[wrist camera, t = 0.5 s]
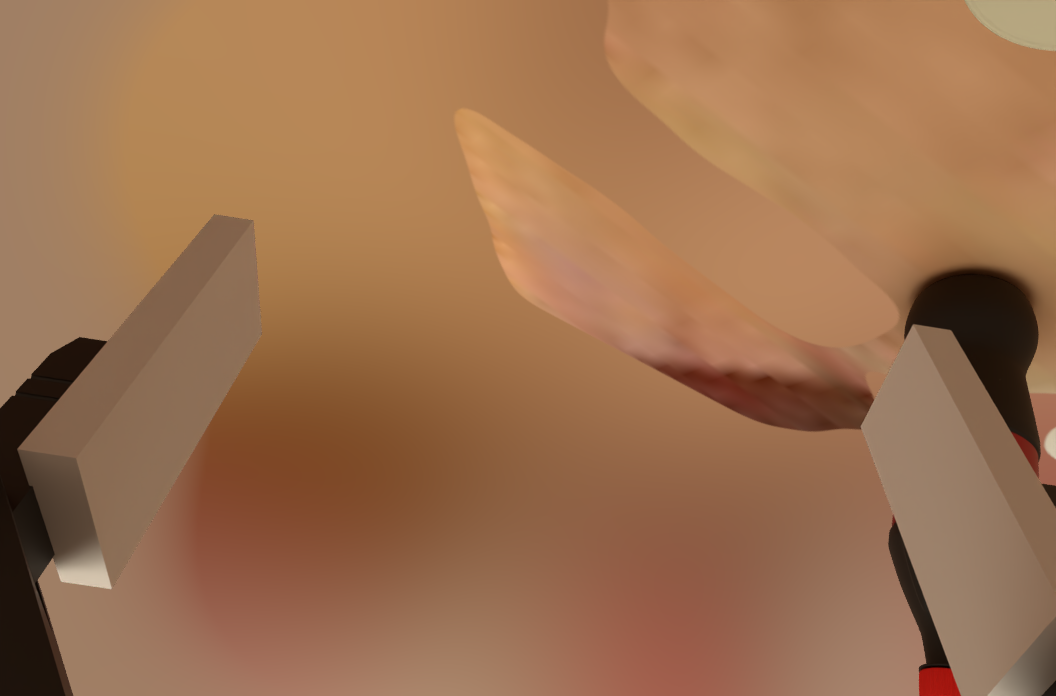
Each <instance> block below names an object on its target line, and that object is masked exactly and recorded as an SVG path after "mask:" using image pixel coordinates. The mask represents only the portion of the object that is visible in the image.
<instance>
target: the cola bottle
mask: <svg viewBox="0 0 1056 696" xmlns="http://www.w3.org/2000/svg"><path fill="white" fill-rule="evenodd" d="M913 324H915V325H921V326H928V327H934V328H940V329H947V330H951V331H952V333H953V334H954V336H955V338H956V339H957V341H958V343H959V345H960V346H961V348H962V350H963V351H964V353H965V355H966V356H967V358H968V360H969V362H970V363H971V365H972V367H973V368H974V370H975V372H976V373H977V375H978V377H979V379H980V380H981V382H982V384H983V385H984V387H985V389H986V390H987V392H988V394H989V396H990V397H991V399H992V401H993V402H994V404H995V406H996V407H997V409H998V411H999V413H1000V414H1001V416H1002V418H1003V419H1004V421H1005V423H1006V424H1007V426H1008V428H1009V430H1010V431H1011V433H1012V435H1013V436H1014V438H1015V440H1016V441H1017V443H1018V445H1019V447H1020V448H1021V450H1022V452H1023V453H1024V455H1025V457H1026V458H1027V460H1028V462H1029V464H1030V465H1031V467H1032V469H1033V470H1034V472H1035V474H1036V475H1037V477H1038V479H1039V473H1038V472H1039V470H1038V469H1039V468H1038V462H1039V459H1040V440H1039V435H1038V431H1037V426H1036V422H1035V417H1034V412H1033V408H1032V404H1031V399H1030V395H1029V390H1028V386H1027V382H1026V373H1027V370H1028V368H1029V366H1030V364H1031V362H1032V359H1033V357H1034V355H1035V352H1036V349H1037V344H1038V326H1037V321H1036V317H1035V314H1034V311H1033V309H1032V307H1031V305H1030V303H1029V301H1028V299H1027V298H1026V297H1025V295H1024V294H1023V293H1022V292H1021V291H1020V290H1019V289H1018V288H1016V287H1015V286H1013V285H1012V284H1010V283H1008V282H1006V281H1004V280H1001V279H998V278H994V277H990V276H984V275H961V276H954V277H950V278H946V279H943V280H941V281H938V282H936V283H934V284H932V285H931V286H929V287H928V288H926V289H925V290H924V291H923V292H922V293H921V294H920V295H919V296H918V298H917V299H916V300H915V302H914V304H913V306H912V308H911V310H910V312H909V315H908V318H907V321H906V326H905V334H904V338H905V339H906V337H907V335H908V333H909V331H910V329H911V327H912V325H913ZM888 544H889V550H890V554H891V557H892V560H893V563H894V566H895V569H896V573H897V576H898V579H899V581H900V584H901V587H902V590H903V592H904V594H905V597H906V599H907V602H908V604H909V606H910V609H911V611H912V613H913V616H914V618H915V620H916V622H917V625H918V627H919V630H920V632H921V635H922V640H923V646H924V651H925V657H926V663H927V664H924V665H921V666H920V667H919V695H920V696H961V695H960V692H959V689H958V686H957V684H956V681H955V678H954V676H953V673H952V670H951V668H950V665H949V662H948V660H947V657H946V654H945V652H944V649H943V646H942V643H941V641H940V638H939V635H938V633H937V630H936V627H935V625H934V622H933V619H932V617H931V614H930V611H929V609H928V606H927V603H926V601H925V598H924V595H923V592H922V590H921V587H920V584H919V582H918V579H917V576H916V574H915V571H914V568H913V566H912V563H911V560H910V558H909V555H908V552H907V549H906V547H905V544H904V541H903V539H902V536H901V533H900V531H899V528H898V525H897V523H896V520H895V517H894V515H893V520H892V528H891V530H890V532H889V543H888Z"/></svg>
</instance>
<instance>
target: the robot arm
mask: <svg viewBox="0 0 1056 696" xmlns="http://www.w3.org/2000/svg"><path fill="white" fill-rule="evenodd" d="M261 335H262V329H261V315H260V302H259V288H258V275H257V262H256V248H255V235H254V222H253V220H247V219H240V218H234V217H228V216H221V215H213V217H212V218H211V219H210V220H209V221H208V223H207V224H206V225H205V226H204V227H203V229H202V230H201V231H200V232H199V233H198V235H197V236H196V237H195V238H194V239H193V240H192V242H191V243H190V244H189V245H188V247H187V248H186V249H185V250H184V252H182V254H181V255H180V256H179V257H178V258H177V260H176V261H175V262H174V263H173V264H172V265H171V267H170V268H169V269H168V270H167V272H166V273H165V274H164V275H163V276H162V277H161V279H160V280H159V281H158V282H157V283H156V285H155V286H154V287H153V288H152V289H151V290H150V292H149V293H148V294H147V295H146V297H145V298H144V299H143V300H142V301H141V302H140V304H139V305H138V306H137V307H136V309H135V310H134V311H133V312H132V313H131V314H130V316H129V317H128V318H127V319H126V320H125V321H124V323H123V324H122V325H121V326H120V327H119V329H118V330H117V331H116V332H115V333H114V335H113V336H112V337H111V338H110V339H109V340H108V342H107V341H101V340H94V339H88V338H81V337H79V338H77V339H76V340H74V341H72V342H70V343H69V344H67V345H65V346H63V347H61V348H60V349H58V350H56V351H54V352H53V353H51V354H50V355H49V356H48V357H47V358H46V359H45V360H44V361H43V363H41V365H40V366H39V367H38V368H37V369H36V370H35V371H34V372H33V373H32V376H31V379H27V380H26V381H25V382H24V383H23V384H22V385H21V386H20V388H19V389H18V390H17V391H16V395H15V396H11V397H10V399H9V400H8V401H7V402H6V403H5V404H4V405H3V406H2V407H1V408H0V696H73V693H72V690H71V687H70V684H69V680H68V677H67V674H66V670H65V667H64V664H63V661H62V657H61V654H60V651H59V647H58V644H57V641H56V638H55V635H54V631H53V628H52V624H51V621H50V618H49V615H48V612H47V608H46V605H45V602H44V598H43V595H42V592H41V589H40V586H39V583H38V578H39V577H40V575H41V574H42V572H43V571H44V569H45V568H46V567H47V565H48V564H49V562H50V561H51V559H52V558H53V559H54V562H55V565H56V568H57V571H58V574H59V577H60V580H61V582H68V583H74V584H81V585H88V586H95V587H101V588H108V589H112V588H113V586H114V585H115V583H116V581H117V579H118V578H119V576H120V575H121V573H122V571H123V569H124V568H125V566H126V564H127V563H128V561H129V559H130V558H131V556H132V554H133V552H134V551H135V549H136V547H137V546H138V544H139V542H140V541H141V539H142V537H143V535H144V534H145V532H146V530H147V529H148V527H149V525H150V523H151V522H152V520H153V518H154V517H155V515H156V513H157V512H158V510H159V508H160V506H161V505H162V503H163V501H164V500H165V498H166V496H167V495H168V493H169V491H170V489H171V488H172V486H173V484H174V483H175V481H176V479H177V478H178V476H179V474H180V472H181V471H182V469H183V467H184V466H185V464H186V462H187V460H188V459H189V457H190V455H191V454H192V452H193V450H194V449H195V447H196V445H197V443H198V442H199V440H200V438H201V436H202V435H203V433H204V432H205V430H206V428H207V427H208V425H209V423H210V421H211V419H212V418H213V416H214V414H215V413H216V411H217V410H218V408H219V406H220V404H221V403H222V401H223V399H224V398H225V396H226V394H227V393H228V391H229V389H230V387H231V386H232V384H233V382H234V381H235V379H236V377H237V375H238V374H239V372H240V370H241V369H242V367H243V365H244V363H245V362H246V360H247V359H248V357H249V355H250V353H251V352H252V350H253V348H254V346H255V345H256V343H257V341H258V340H259V338H260V336H261ZM861 429H862V431H863V434H864V436H865V439H866V442H867V445H868V447H869V450H870V453H871V455H872V458H873V461H874V464H875V466H876V469H877V471H878V474H879V477H880V480H881V482H882V485H883V488H884V490H885V493H886V496H887V498H888V501H889V504H890V507H891V509H892V512H893V515H894V517H895V520H896V523H897V525H898V528H899V531H900V533H901V536H902V539H903V541H904V544H905V547H906V549H907V552H908V555H909V558H910V560H911V563H912V566H913V568H914V571H915V574H916V576H917V579H918V582H919V584H920V587H921V590H922V592H923V595H924V598H925V601H926V603H927V606H928V609H929V611H930V614H931V617H932V619H933V622H934V625H935V627H936V630H937V633H938V635H939V638H940V641H941V643H942V646H943V649H944V652H945V654H946V657H947V660H948V662H949V665H950V668H951V670H952V673H953V676H954V678H955V681H956V684H957V686H958V689H959V692H960V695H961V696H1056V486H1053V485H1047V484H1041V482H1040V481H1039V479H1038V477H1037V475H1036V474H1035V472H1034V470H1033V469H1032V467H1031V465H1030V464H1029V462H1028V460H1027V458H1026V457H1025V455H1024V453H1023V452H1022V450H1021V448H1020V447H1019V445H1018V443H1017V441H1016V440H1015V438H1014V436H1013V435H1012V433H1011V431H1010V430H1009V428H1008V426H1007V424H1006V423H1005V421H1004V419H1003V418H1002V416H1001V414H1000V413H999V411H998V409H997V407H996V406H995V404H994V402H993V401H992V399H991V397H990V396H989V394H988V392H987V390H986V389H985V387H984V385H983V384H982V382H981V380H980V379H979V377H978V375H977V373H976V372H975V370H974V368H973V367H972V365H971V363H970V362H969V360H968V358H967V356H966V355H965V353H964V351H963V350H962V348H961V346H960V345H959V343H958V341H957V339H956V338H955V336H954V334H953V333H952V331H951V330H947V329H940V328H934V327H928V326H921V325H915V324H913V325H912V327H911V329H910V331H909V333H908V335H907V337H906V339H905V341H904V343H903V345H902V347H901V349H900V351H899V353H898V355H897V357H896V359H895V361H894V363H893V365H892V367H891V369H890V371H889V372H888V374H887V376H886V378H885V380H884V382H883V384H882V386H881V388H880V390H879V392H878V394H877V396H876V398H875V400H874V402H873V404H872V406H871V408H870V410H869V412H868V414H867V416H866V418H865V420H864V422H863V423H862V425H861Z"/></svg>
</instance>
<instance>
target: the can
mask: <svg viewBox="0 0 1056 696" xmlns="http://www.w3.org/2000/svg"><path fill="white" fill-rule="evenodd" d="M965 2H966V4H967V6H968V8H969V9H970V11H971V12H972V13H973V15H974V16H975V17H976V18H977V19H978V20H979V21H980V22H981V23H982V24H983V25H984V26H985V27H987V28H988V29H989V30H990V31H992V32H993V33H995V34H996V35H998V36H1000V37H1002V38H1004V39H1006V40H1008V41H1010V42H1013V43H1016V44H1019V45H1022V46H1026V47H1029V48H1034V49H1041V50H1049V51H1056V0H965Z"/></svg>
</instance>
